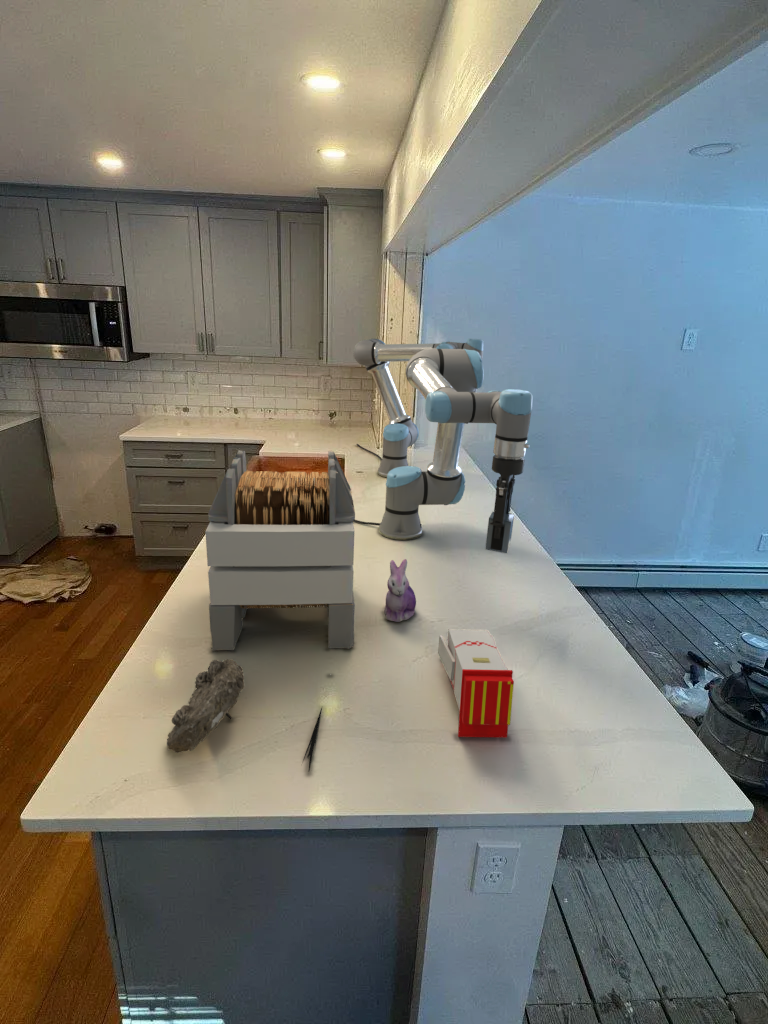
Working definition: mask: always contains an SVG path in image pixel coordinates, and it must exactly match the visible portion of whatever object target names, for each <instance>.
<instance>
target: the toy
mask: <svg viewBox="0 0 768 1024" xmlns="http://www.w3.org/2000/svg"><path fill="white" fill-rule="evenodd" d="M446 640H447V643H446V641H445V639H444V636H443V635H442V634H439V637H438V646H437V656H438V657H439V659H440V661H441V663H442V666H443V668H444V670H445V672H446V674H447V677H448V679H449V681H450V684H451V687H452V690H453V693H454V697H455V701H456V705H457V708H458V711H459V714H458V715H459V716H458V730H457V731H458V732H457V737H458V738H508V731H509V726H510V725H511V717H512V707H513V697H514V696H513V695H514V684H515V680H514V679H513V673H514V671H513V670H512V669H508V667H507V665H506V662H505V661H504V659H503V658H502V655H501V653H500V651H499V649H498V647H497V643H496V639H495V637H494V635H493V634H491V632H490V631H489V629H467V628H466V629H465V628H463V629H461V628H460V629H459V628H448V630H447V639H446Z"/></svg>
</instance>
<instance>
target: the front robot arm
mask: <svg viewBox="0 0 768 1024" xmlns="http://www.w3.org/2000/svg"><path fill="white" fill-rule="evenodd" d="M484 374H485V372H484V363H483V358H482V359H481V356H480V354H479V353H478V352H477V351H475V350H466V349H436V348H430V349H425V350H422V351H420V352H418V353H417V354H415V355H414V356H413V357H412V358H411V359H410V360H409V361H407V363H406V367H405V378H406V380H407V382H408V383H409V384H410V386H411V387H412V388H413V389H416V390H418V391H419V393H420V394H421V395H422V397H423V398H424V399H425V403H424V410H425V411H424V412H425V417H426V419H427V420H428V421H429V422H431V423H437V428H436V434H435V435H436V436H435V442H434V450H433V458H432V461H431V462H430V463H429V464H428V465H427V469H426V471H422V469H421V467H419V466H415V465H413V466H412V465H408V466H402V467H397V468H394V469H392V470H390V471H389V473H388V474H387V478H386V480H385V504H384V505H385V507H384V508H385V509H384V513H383V515H382V519H381V522H373V521H371V522H370V521H361V520H358V519H355V520H354V521H353V523H356V524H361V525H367V526H368V525H369V526H378V533H379V534H380V535H381V536H382V537H385V538H387V539H389V540H395V541H410V540H415V539H418V538H420V537H421V536H422V535H423V525H422V523H421V518H420V515H419V507H420V506H436V505H437V506H441V505H443V506H449V505H457V504H459V502H460V501H462V499H463V496H464V493H465V489H466V485H465V484H466V477H465V474H464V472H462V468H461V467H460V466H459V460H460V455H461V448H462V441H463V436H464V429H465V424H466V423H468V424H495V425H496V428H495V434H494V435H495V436H494V442H493V443H494V444H493V450H492V453H493V454H494V455H493V456H492V461H491V470H492V471H493V472H494V473H496V474H499V476H498V479H496V483H495V486H496V488H495V499H494V506H493V507H494V508H493V512H494V515H493V522H490V525H493V531H492V540H491V548H490V549H495V550H500V551H501V550H502V544H503V536H504V528H505V525H504V521H505V515H506V514H511V515H513V513H510V512H511V506H512V498H513V493H514V486H515V484H516V476H519V475H522V474H523V473H524V468H525V461H526V460H525V458H524V457H525V456H526V451H527V449H529V448H530V444H528V439H529V438H528V437H529V430H530V423H531V418H532V417H531V416H532V411H533V394H532V393H531V391H528V390H523V389H517V388H515V389H514V388H510V389H502V391H501V390H489V391H487V392H483V391H482V392H478V391H477V392H474V391H475V388H476V389H477V390H479V389H480V388H481V387H482V385H483V384H484V377H485V375H484Z"/></svg>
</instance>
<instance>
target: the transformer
mask: <svg viewBox="0 0 768 1024" xmlns="http://www.w3.org/2000/svg"><path fill="white" fill-rule="evenodd" d="M327 456H328V457H327V462H328V463H327V471H322V472H321V473H320V472H319V471H311V472H307V471H284V472H283V471H281V472H278V471H271V470H269V471H267V470H265V471H262V470H261V471H259V470H258V471H257V470H256V471H253V470H247V458H246V450H240V449H238V450H237V452H236V454H235V456H234V457H233V459H232V462H231V464H230V466H229V468H227V470H226V472H225V474H224V477H223V479H222V480H221V483H220V486H219V487H218V490H217V491H216V495H215V496H214V499H213V501H212V503H211V504H210V505H211V506H210V508H209V510H208V513H207V517H208V522H209V523H208V525H207V527H206V529H205V533H204V534H205V548H206V558H207V559H206V563H207V567H209V569H208V571H207V574H208V575H207V577H208V589H209V604H208V615H209V630H210V634H211V647H210V649H211V651H212V652H214V651H215V652H218V651H234V649H235V647H236V645H237V643H238V641H239V638H240V635H241V633H242V630H243V619H245V618H246V614H247V609H249V610H250V609H273V608H274V609H276V608H277V609H280V608H281V609H293V608H294V609H296V608H298V609H302V608H309V609H310V608H315V609H316V608H327V637H328V638H327V639H328V640H327V641H328V649H349V650H350V649H352V648H353V647H354V646H355V645H354V643H355V607H356V606H355V597H354V559H355V558H354V555H355V526H354V525H355V524H354V522H353V521H354V520H356V511H355V505H354V499H353V493H352V487H351V486H350V484H349V481H348V479H347V477H346V475H345V473H344V471H343V469H342V467H341V464H340V462H339V459H338V458H337V455H336V453H335V452H334V451H330V450H329V451H327Z"/></svg>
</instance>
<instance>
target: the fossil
mask: <svg viewBox="0 0 768 1024" xmlns="http://www.w3.org/2000/svg"><path fill="white" fill-rule="evenodd" d="M243 670H244V669H243V667H242V665H240V664H237V662H236V661H235V660H234V659H232V658H231V659H227V658H226V659H224V660H223V661H222V660H217V659H212V660H211V661H210V663H209V665H208V666H207V671H201V672H199V673H198V674H197V675H196V676H195V680H194V684H195V685H194V687H195V689H194V690H193V693H192V694H191V697H190V698H189V700H188V704H184V705H182V706H181V707H180V709H177V710H176V711H175V713H174V715H173V716H172V718H171V723H172V724H173V727H172V730H171V731H170V732H168V734H167V738H166V741H167V742H166V745H167V749H168V750H169V751H173V752H174V753H176V754H178V753H182V752H188V751H189V752H192V751H193V750H195V748H196V747H197V746H199V744H200V743H201V742H203V741H204V740H205V739H206V738H207V737H208V736H209V735H210V734H211V733H212V732H214V730H215V729H217V727H218V726H219V724H220V722H221V721H222V720H223V719H224V718H225V716H226V717H227V719H229V720H233V717H232V715H230V714H229V710H230V709H231V708H234V706H235V704H236V703H237V702H238V699H239V697H240V695H241V693H242V691H243V690H245V689H244V688H245V675H244V671H243Z"/></svg>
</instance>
